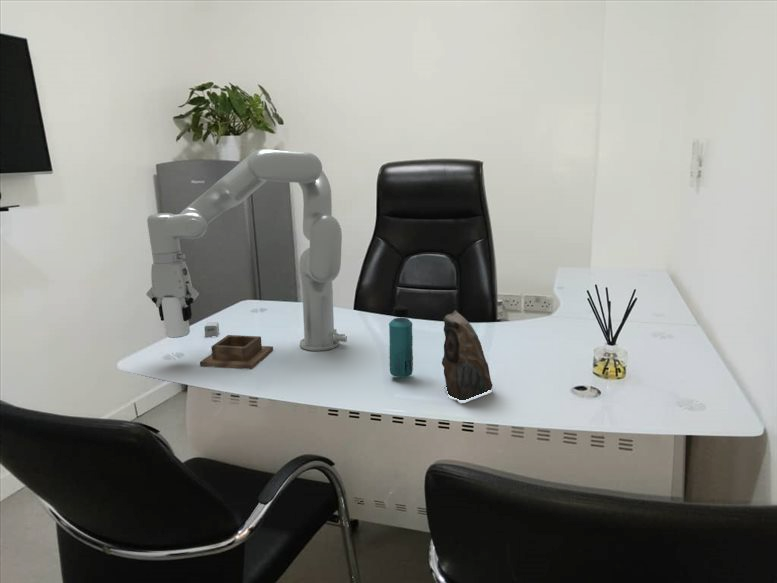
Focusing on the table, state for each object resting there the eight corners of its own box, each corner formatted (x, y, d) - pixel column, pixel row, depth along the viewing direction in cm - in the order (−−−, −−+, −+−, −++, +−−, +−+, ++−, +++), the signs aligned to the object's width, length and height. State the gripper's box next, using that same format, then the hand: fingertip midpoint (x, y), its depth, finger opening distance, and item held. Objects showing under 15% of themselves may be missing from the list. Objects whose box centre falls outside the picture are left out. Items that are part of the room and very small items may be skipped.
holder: (273, 350, 170) (272, 334, 169) (252, 369, 155) (250, 351, 154) (225, 347, 173) (224, 332, 172) (200, 365, 158) (198, 348, 156)
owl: (460, 406, 130) (462, 327, 125) (424, 390, 140) (425, 315, 135) (495, 392, 138) (498, 317, 133) (458, 377, 147) (460, 306, 143)
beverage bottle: (405, 384, 143) (405, 311, 139) (384, 379, 147) (383, 308, 142) (417, 376, 149) (417, 305, 144) (396, 371, 152) (396, 302, 147)
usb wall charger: (205, 337, 183) (204, 326, 182) (208, 331, 190) (207, 320, 189) (217, 336, 184) (216, 325, 183) (220, 330, 191) (219, 319, 190)
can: (185, 338, 154) (179, 297, 151) (162, 338, 154) (156, 297, 151) (193, 330, 160) (188, 291, 157) (172, 331, 160) (166, 292, 157)
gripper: (202, 255, 153) (210, 316, 158) (147, 255, 156) (156, 315, 161) (188, 260, 146) (197, 324, 151) (131, 261, 149) (141, 323, 154)
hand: (176, 318), depth 156 cm, fingers closed on can, 6 cm apart
